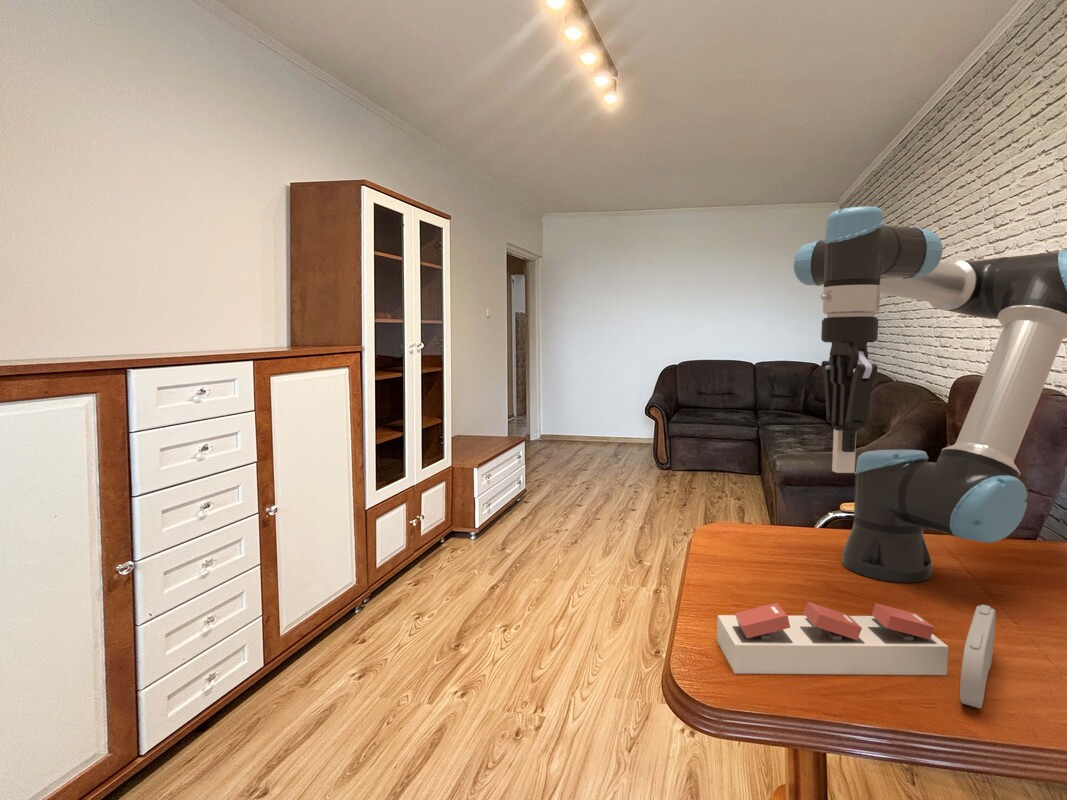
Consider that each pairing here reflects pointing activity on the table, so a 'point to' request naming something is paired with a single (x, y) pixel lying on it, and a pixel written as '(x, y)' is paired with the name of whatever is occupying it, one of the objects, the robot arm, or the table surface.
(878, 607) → the block
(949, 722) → the table surface
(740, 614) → the rocker
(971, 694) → the grey rounded slab
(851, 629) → the block
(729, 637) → the rocker switch panel
